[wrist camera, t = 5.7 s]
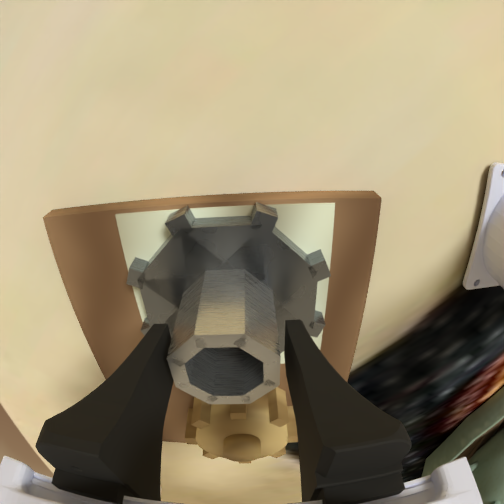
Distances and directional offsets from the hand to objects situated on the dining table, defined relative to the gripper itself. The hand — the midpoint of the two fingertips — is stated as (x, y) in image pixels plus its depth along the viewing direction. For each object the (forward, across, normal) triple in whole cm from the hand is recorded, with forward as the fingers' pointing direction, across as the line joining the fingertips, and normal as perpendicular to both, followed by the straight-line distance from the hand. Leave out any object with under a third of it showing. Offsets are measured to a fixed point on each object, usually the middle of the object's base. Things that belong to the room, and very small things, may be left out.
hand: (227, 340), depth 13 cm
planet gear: (+3, 0, 0) cm, 3 cm away
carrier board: (+4, +1, +5) cm, 6 cm away
